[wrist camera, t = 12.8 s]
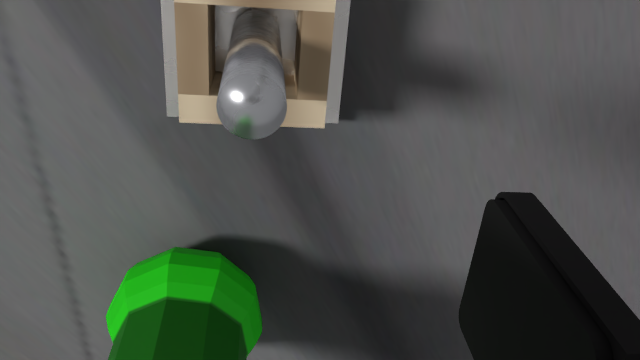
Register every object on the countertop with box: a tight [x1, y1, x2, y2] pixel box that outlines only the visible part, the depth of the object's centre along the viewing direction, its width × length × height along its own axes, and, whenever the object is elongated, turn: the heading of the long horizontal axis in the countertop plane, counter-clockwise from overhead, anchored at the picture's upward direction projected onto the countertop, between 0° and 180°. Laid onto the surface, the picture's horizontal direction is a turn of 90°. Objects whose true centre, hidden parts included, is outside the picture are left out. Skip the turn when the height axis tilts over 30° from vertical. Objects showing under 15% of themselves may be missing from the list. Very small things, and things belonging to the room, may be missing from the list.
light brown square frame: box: [174, 0, 336, 128], centre depth 28 cm, size 7×7×4 cm
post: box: [161, 0, 351, 139], centre depth 26 cm, size 10×10×12 cm
